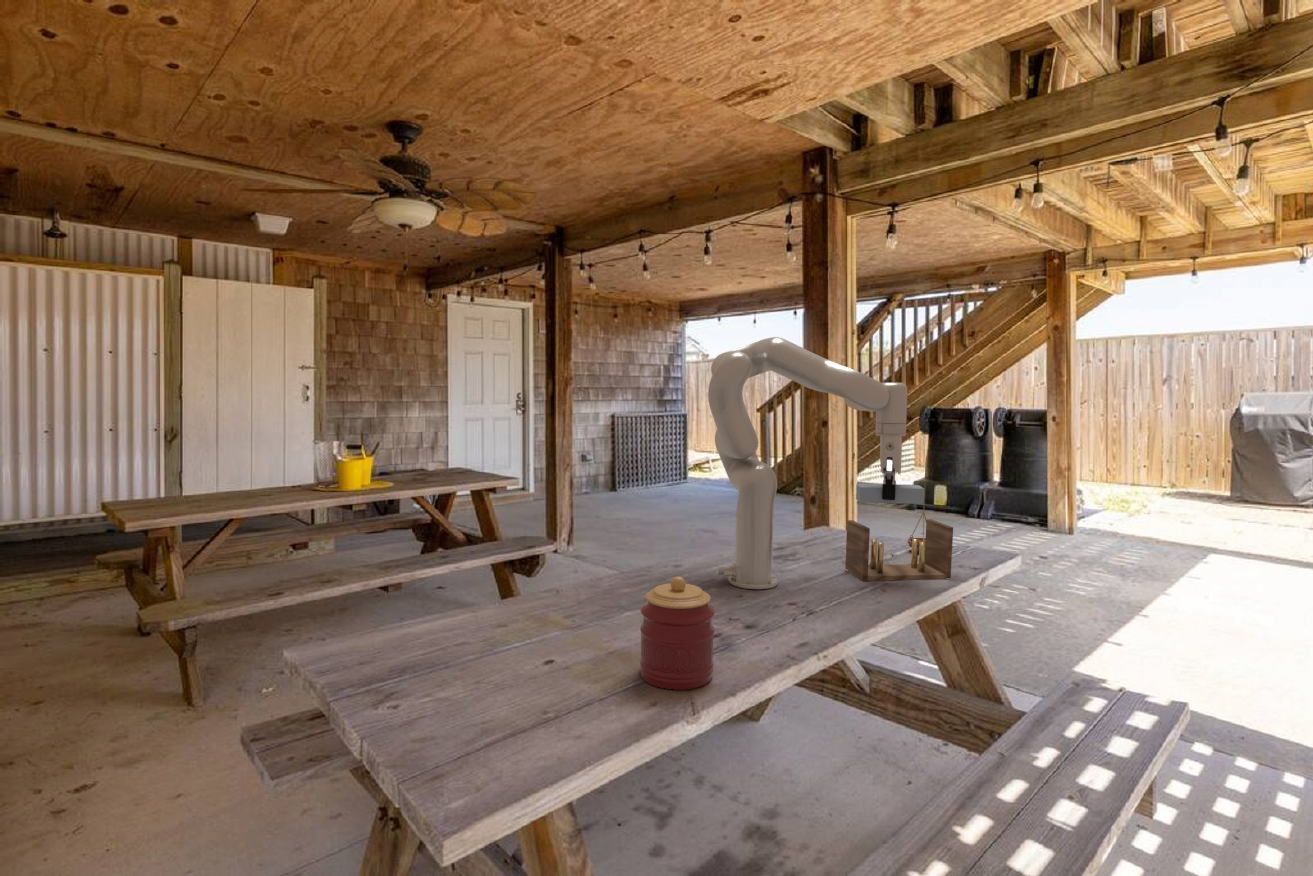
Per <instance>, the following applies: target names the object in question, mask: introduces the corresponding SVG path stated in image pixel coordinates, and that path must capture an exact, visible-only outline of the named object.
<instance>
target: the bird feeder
mask: <svg viewBox="0 0 1313 876" xmlns="http://www.w3.org/2000/svg"><path fill="white" fill-rule="evenodd" d="M927 460H928V456H925V472H924V487H923V488H924V504H922V505H923V508H922V509H923V510H922V514H921V515H920V518H919V519H918V522H917V524H916V526H915V527H914V530H913V532H912V533H911V535H909V538H908V539H907V543H908V546H909V547H910V548H911V549H912V539H918V552H919V546H920V542H925V541H926V537H925V534H924V533H925V532H924V531H925V521H926V520H927V518H926V514H925V509H926V508H925V507H926V506H925V505H926V504H925V503H926V500H925V499H926V487H927V484H926V482H927V468H928V467H927V463H928V461H927ZM922 517H923V519H922ZM921 519H922V537H914V536H913V535H914V533H915V531H916V530H917V527H918V524H919V523H920V521H921Z"/></svg>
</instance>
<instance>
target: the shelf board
mask: <svg viewBox="0 0 1313 876" xmlns="http://www.w3.org/2000/svg"><path fill="white" fill-rule="evenodd" d="M882 485H883V483H882V484H880V483H879V484H878V483H876V484H874V483H873V484H872V483H871V484H870V483H856V493H855V496H856V497H855V499H856V500H857V501H858V502H859V503H863V504H864V503H865V504H867V503H868V504H871V503H872V504H873V503H874V504H900V505H901V504H907V505H909V504H910V505H913V504H914V505H924V503H925V502H924V501H925V500H924V496H925V495H924V494H925V493H924V490H925V489H924V488H925V487H922V486H921V485H918V484H896V490H895V500H883V499H882Z"/></svg>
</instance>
